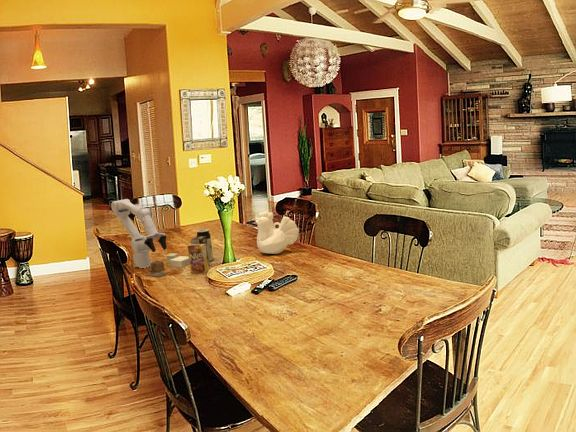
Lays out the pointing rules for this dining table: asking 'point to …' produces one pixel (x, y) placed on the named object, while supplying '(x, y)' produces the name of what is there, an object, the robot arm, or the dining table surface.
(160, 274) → the card
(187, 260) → the base block
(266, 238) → the decorative rooster
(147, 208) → the robot arm
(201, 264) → the candy box
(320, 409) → the dining table surface
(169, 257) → the sage block
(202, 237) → the coffee box
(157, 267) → the walnut block
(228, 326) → the dining table surface
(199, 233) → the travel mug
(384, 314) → the dining table surface
